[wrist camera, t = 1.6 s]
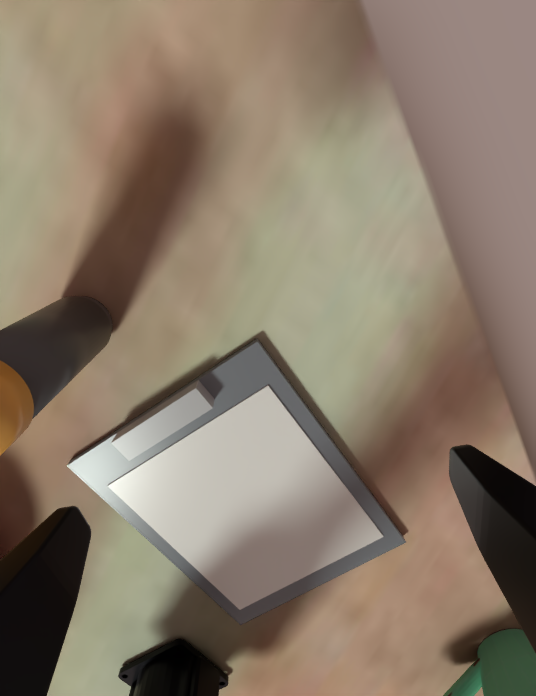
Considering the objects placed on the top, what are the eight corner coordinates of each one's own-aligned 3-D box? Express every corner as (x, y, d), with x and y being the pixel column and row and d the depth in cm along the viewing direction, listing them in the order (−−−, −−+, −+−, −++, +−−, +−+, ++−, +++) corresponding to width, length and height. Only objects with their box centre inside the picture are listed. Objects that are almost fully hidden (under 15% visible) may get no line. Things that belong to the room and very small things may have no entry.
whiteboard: (240, 618, 29) (240, 639, 28) (70, 460, 24) (58, 477, 22) (403, 536, 27) (411, 554, 25) (257, 338, 21) (257, 348, 20)
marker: (84, 362, 21) (-47, 489, 12) (38, 314, 20) (-145, 412, 11) (131, 329, 21) (31, 436, 11) (86, 277, 20) (-64, 348, 10)
